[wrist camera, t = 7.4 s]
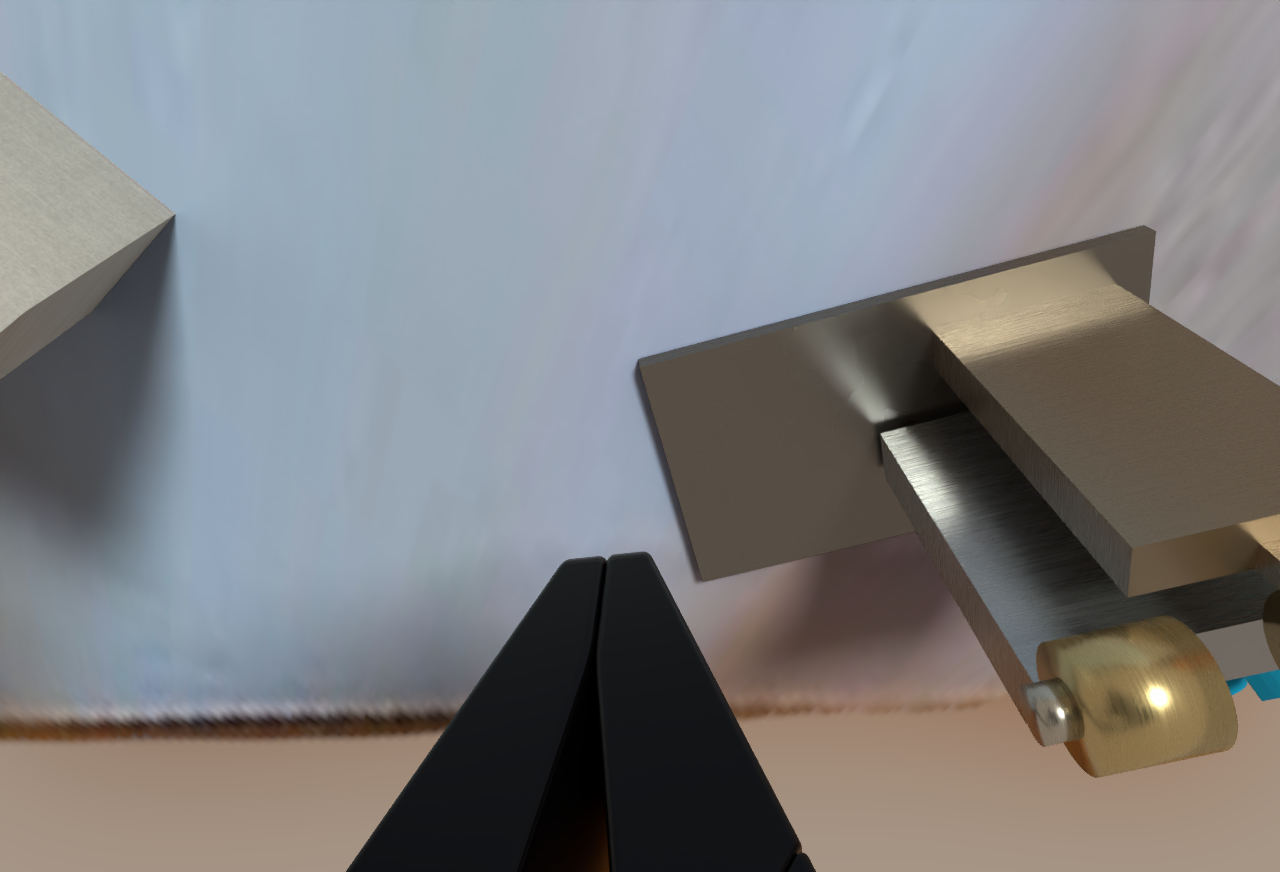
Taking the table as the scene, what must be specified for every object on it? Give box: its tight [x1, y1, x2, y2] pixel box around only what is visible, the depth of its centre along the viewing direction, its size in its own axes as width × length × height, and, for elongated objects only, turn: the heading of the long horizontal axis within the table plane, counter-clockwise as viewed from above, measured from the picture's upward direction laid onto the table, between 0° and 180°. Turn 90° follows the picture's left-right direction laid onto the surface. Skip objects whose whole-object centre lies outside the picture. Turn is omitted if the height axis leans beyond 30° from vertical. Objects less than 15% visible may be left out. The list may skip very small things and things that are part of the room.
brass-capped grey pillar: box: [880, 411, 1279, 778], centre depth 17 cm, size 7×4×11 cm, turn 105°
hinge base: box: [638, 225, 1280, 670], centre depth 18 cm, size 14×8×12 cm, turn 105°
